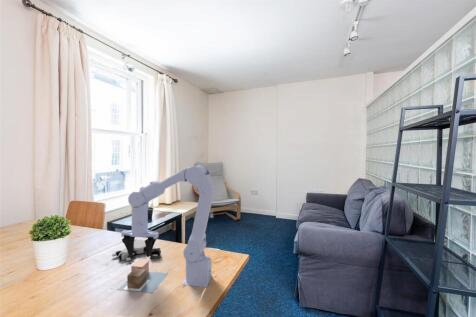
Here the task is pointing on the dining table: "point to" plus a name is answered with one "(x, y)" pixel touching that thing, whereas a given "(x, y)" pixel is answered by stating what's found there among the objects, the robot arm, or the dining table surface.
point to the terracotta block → (141, 265)
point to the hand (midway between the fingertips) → (140, 255)
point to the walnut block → (136, 278)
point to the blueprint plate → (147, 283)
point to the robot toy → (138, 249)
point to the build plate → (155, 253)
